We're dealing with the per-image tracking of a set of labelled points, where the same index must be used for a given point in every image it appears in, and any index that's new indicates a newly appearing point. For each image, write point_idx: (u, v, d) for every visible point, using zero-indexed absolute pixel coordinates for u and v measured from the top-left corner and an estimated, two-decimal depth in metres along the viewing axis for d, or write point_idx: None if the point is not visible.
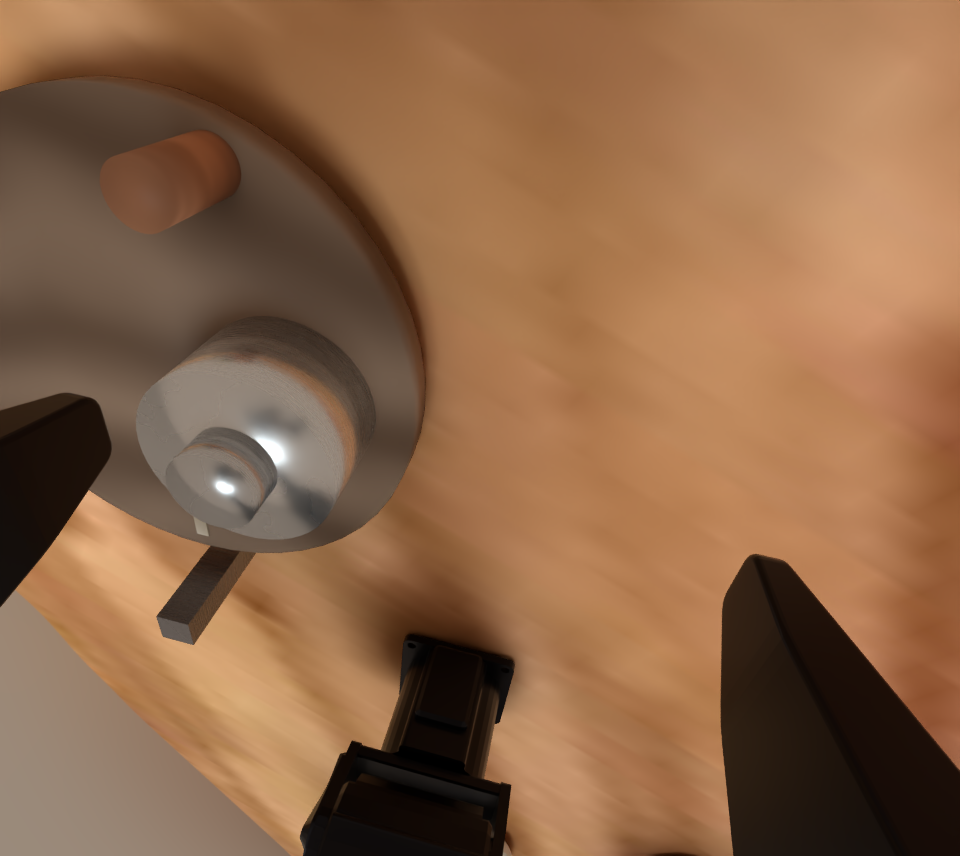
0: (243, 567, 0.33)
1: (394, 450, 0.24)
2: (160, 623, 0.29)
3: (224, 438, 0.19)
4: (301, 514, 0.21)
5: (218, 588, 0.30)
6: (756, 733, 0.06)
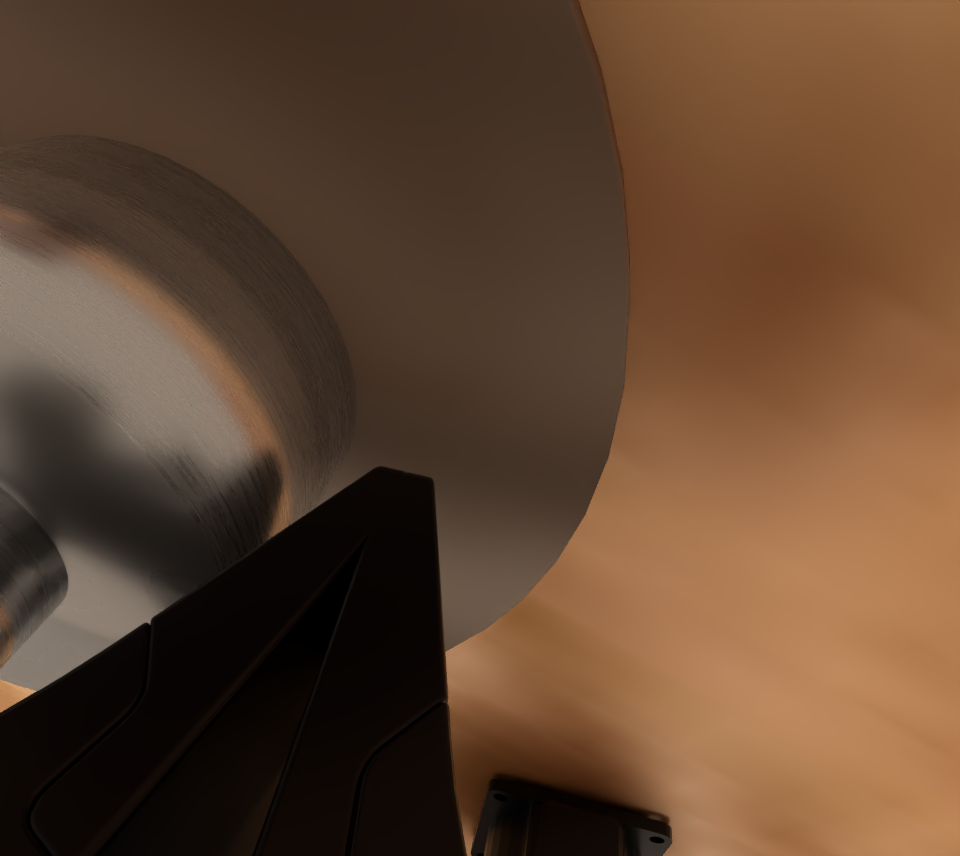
0: None
1: (548, 506, 0.10)
2: None
3: None
4: None
5: None
6: None
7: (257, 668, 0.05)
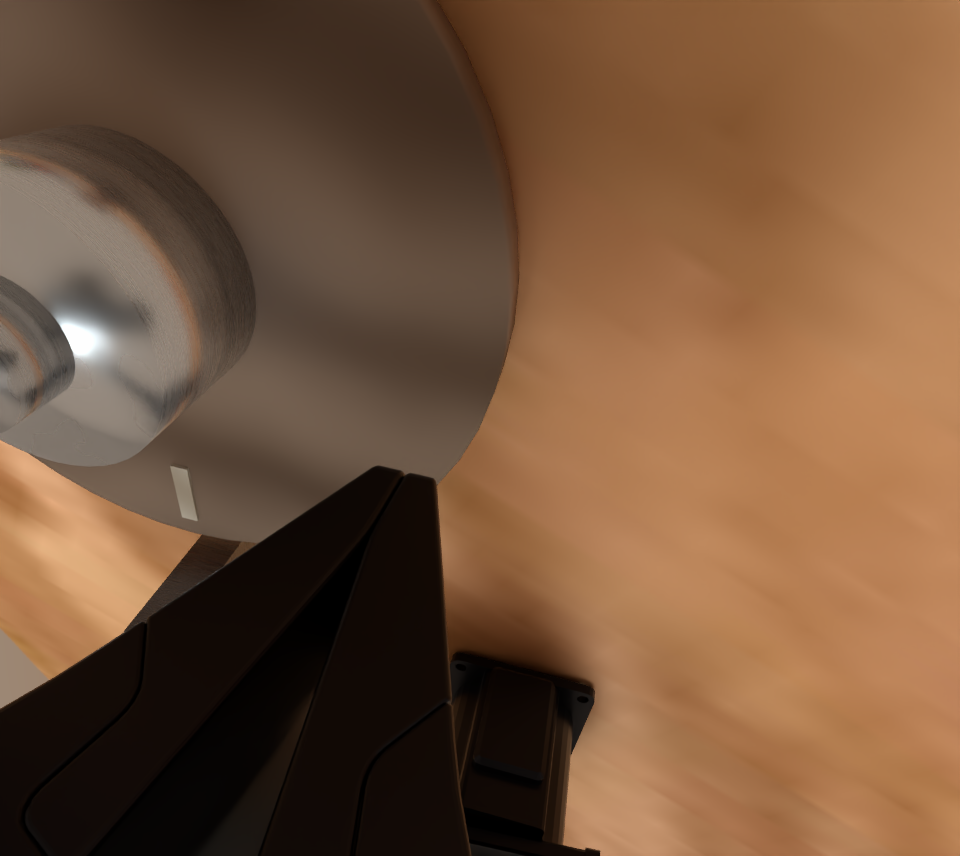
0: None
1: (470, 386, 0.16)
2: None
3: None
4: (122, 421, 0.14)
5: None
6: None
7: (253, 667, 0.05)
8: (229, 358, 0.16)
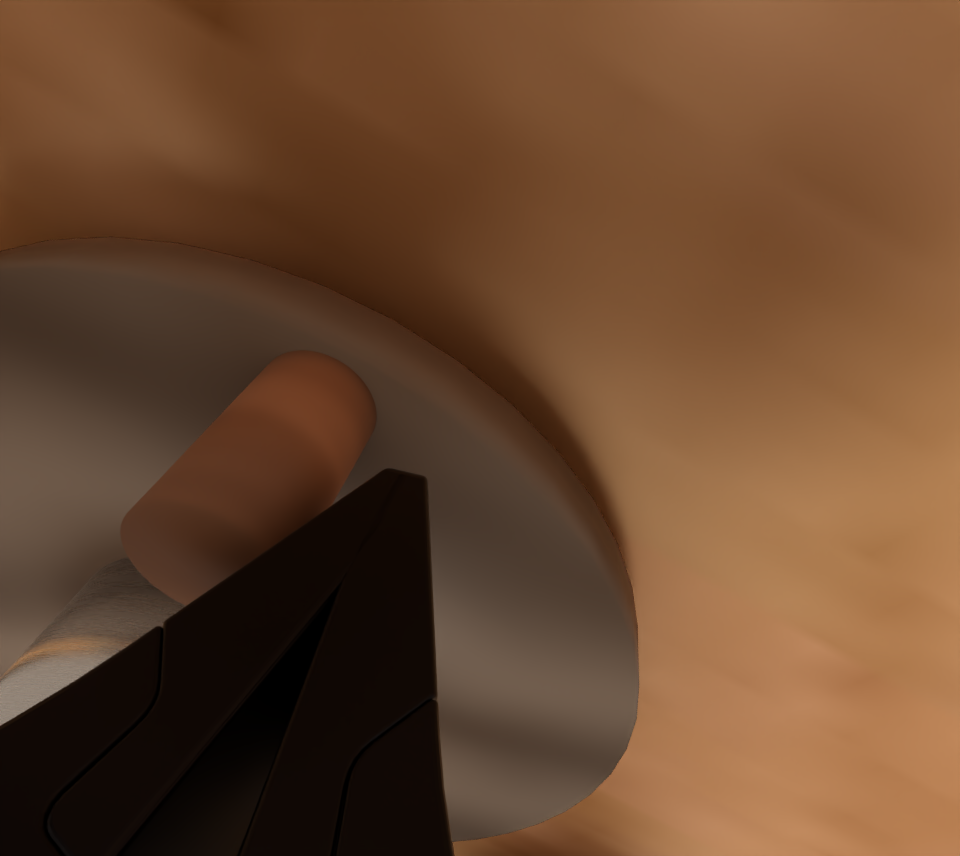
0: None
1: (585, 767, 0.15)
2: None
3: None
4: None
5: None
6: None
7: (269, 671, 0.05)
8: None
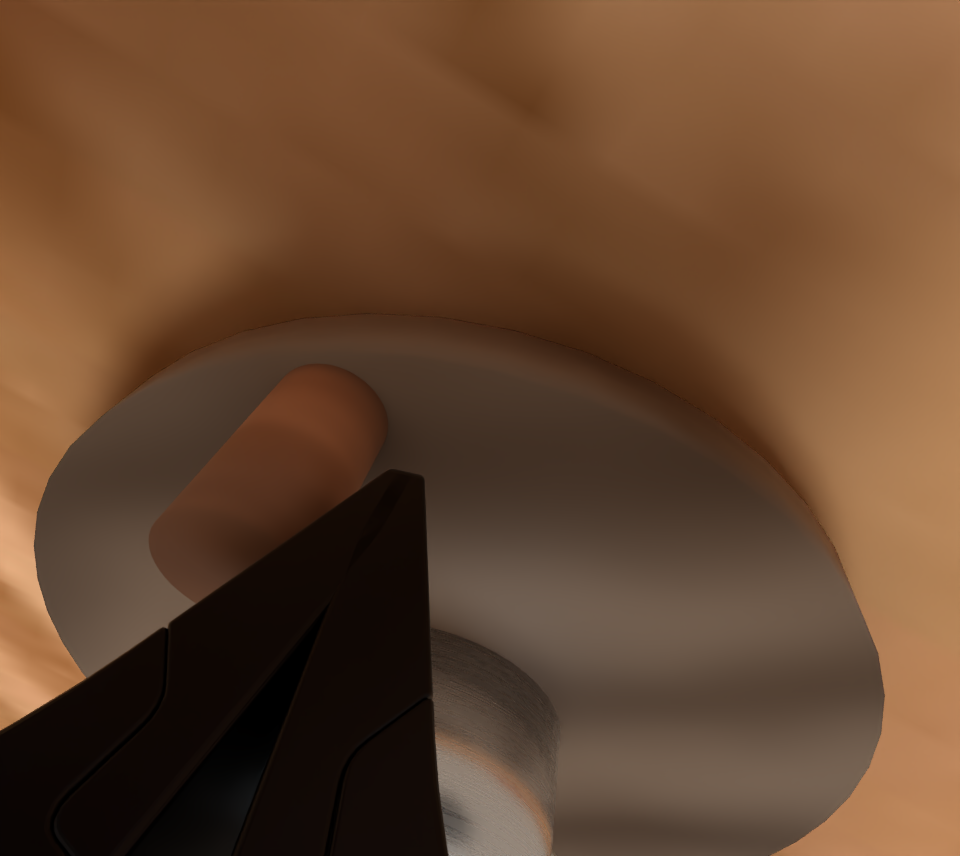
0: None
1: (848, 698, 0.12)
2: None
3: None
4: None
5: None
6: None
7: (275, 673, 0.05)
8: (556, 778, 0.14)
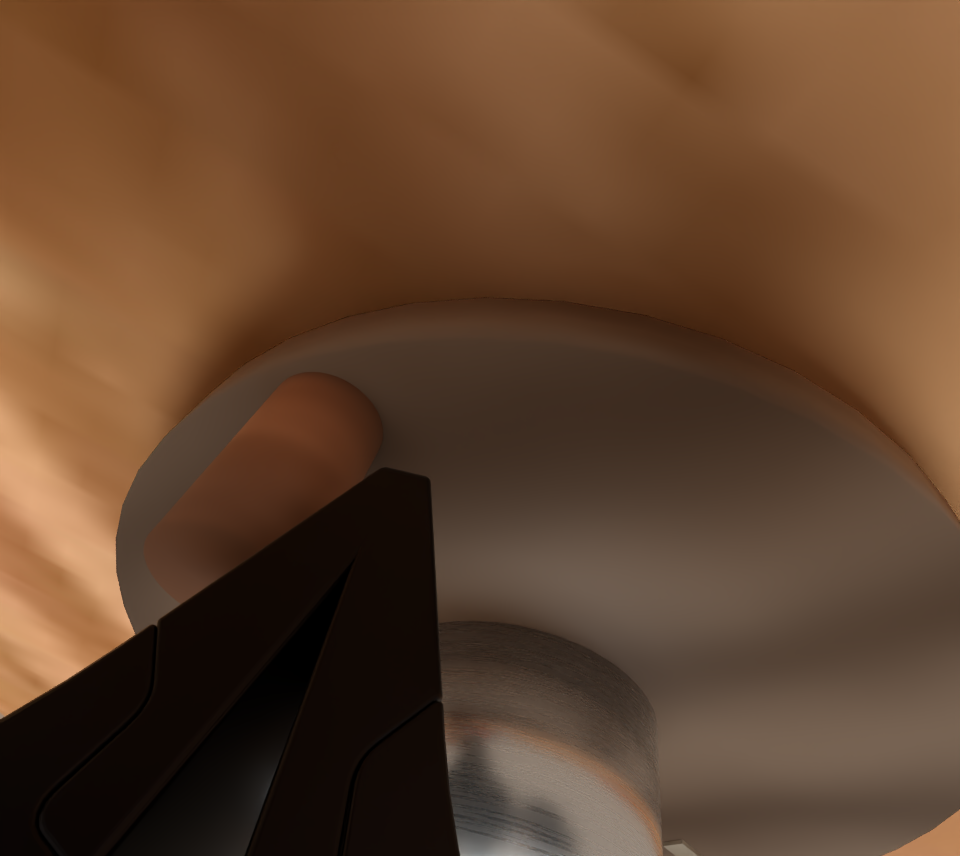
0: None
1: None
2: None
3: None
4: None
5: None
6: None
7: (263, 670, 0.05)
8: (656, 762, 0.13)
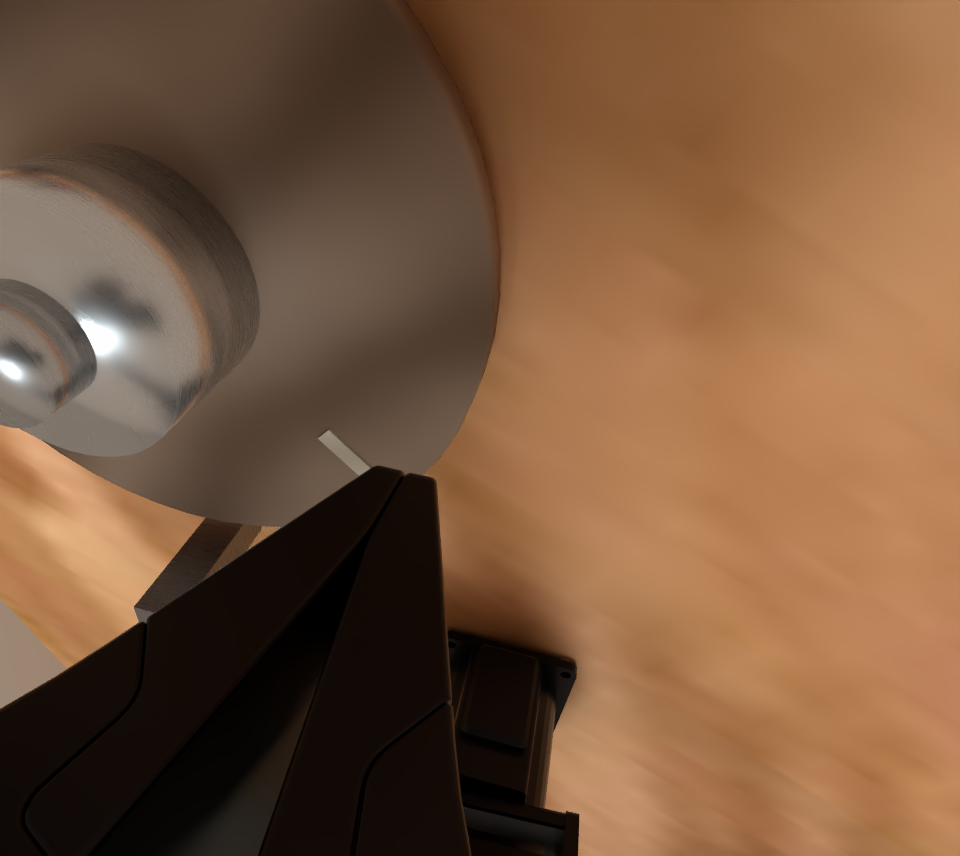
0: (245, 547, 0.26)
1: (388, 61, 0.13)
2: (139, 616, 0.22)
3: None
4: (136, 339, 0.14)
5: None
6: None
7: (253, 667, 0.05)
8: (216, 256, 0.15)
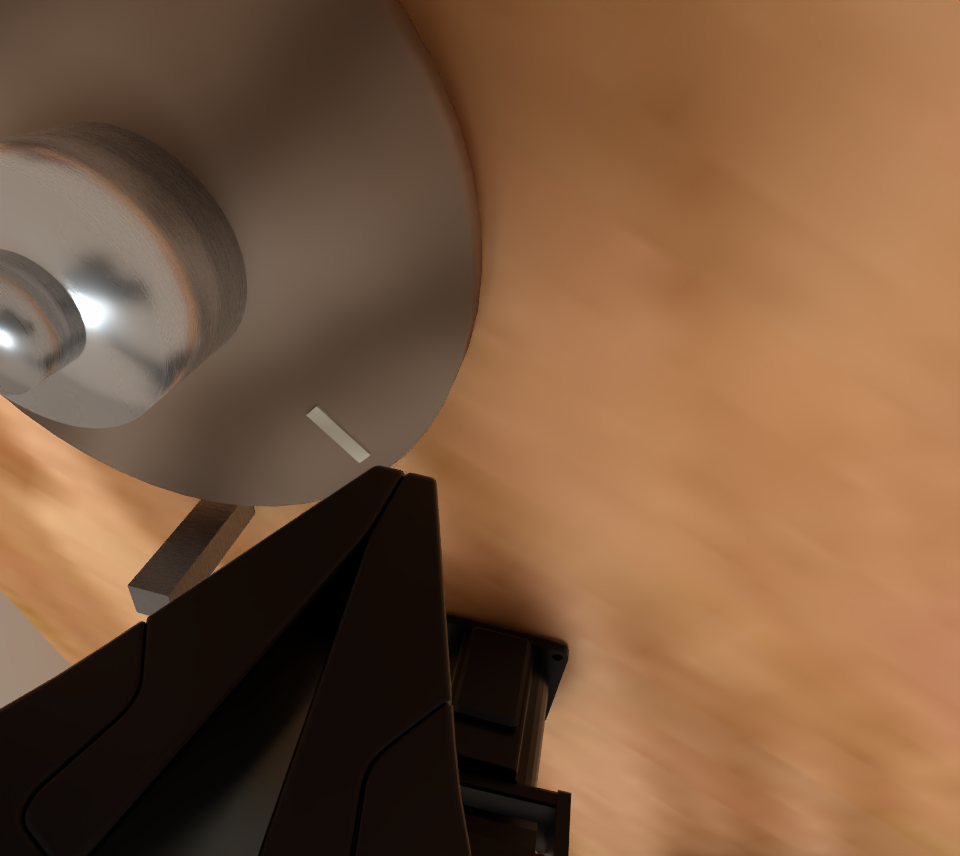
0: (239, 530, 0.27)
1: (365, 34, 0.13)
2: (133, 594, 0.23)
3: None
4: (123, 306, 0.14)
5: (207, 553, 0.24)
6: None
7: (252, 667, 0.05)
8: (202, 230, 0.16)
